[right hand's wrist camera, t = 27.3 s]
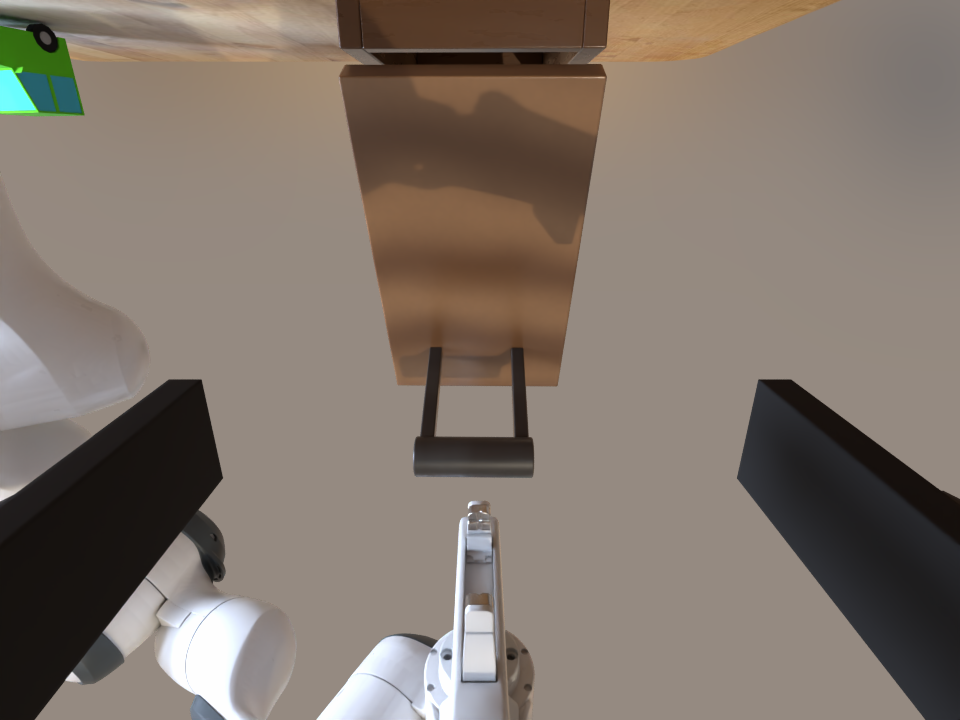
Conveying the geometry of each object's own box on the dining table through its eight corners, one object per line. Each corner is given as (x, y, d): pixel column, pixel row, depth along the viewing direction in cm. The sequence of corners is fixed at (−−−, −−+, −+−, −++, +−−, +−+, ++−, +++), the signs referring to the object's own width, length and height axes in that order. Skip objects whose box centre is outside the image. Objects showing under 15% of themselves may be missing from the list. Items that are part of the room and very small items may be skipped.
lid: (555, 371, 33) (570, 506, 27) (399, 370, 33) (378, 505, 27) (602, 63, 20) (652, 188, 14) (344, 64, 20) (278, 188, 14)
